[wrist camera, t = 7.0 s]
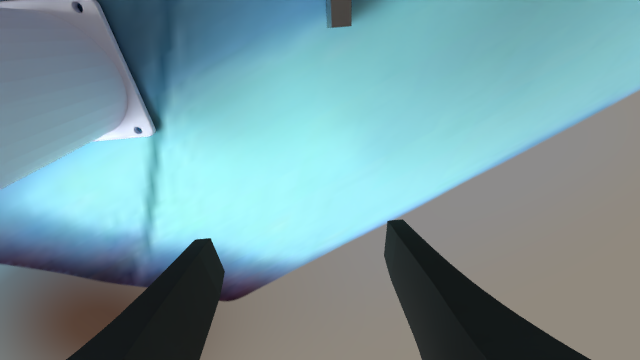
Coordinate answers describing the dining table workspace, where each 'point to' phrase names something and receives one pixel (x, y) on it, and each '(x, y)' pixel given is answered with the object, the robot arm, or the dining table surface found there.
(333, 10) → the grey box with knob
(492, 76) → the dining table surface
